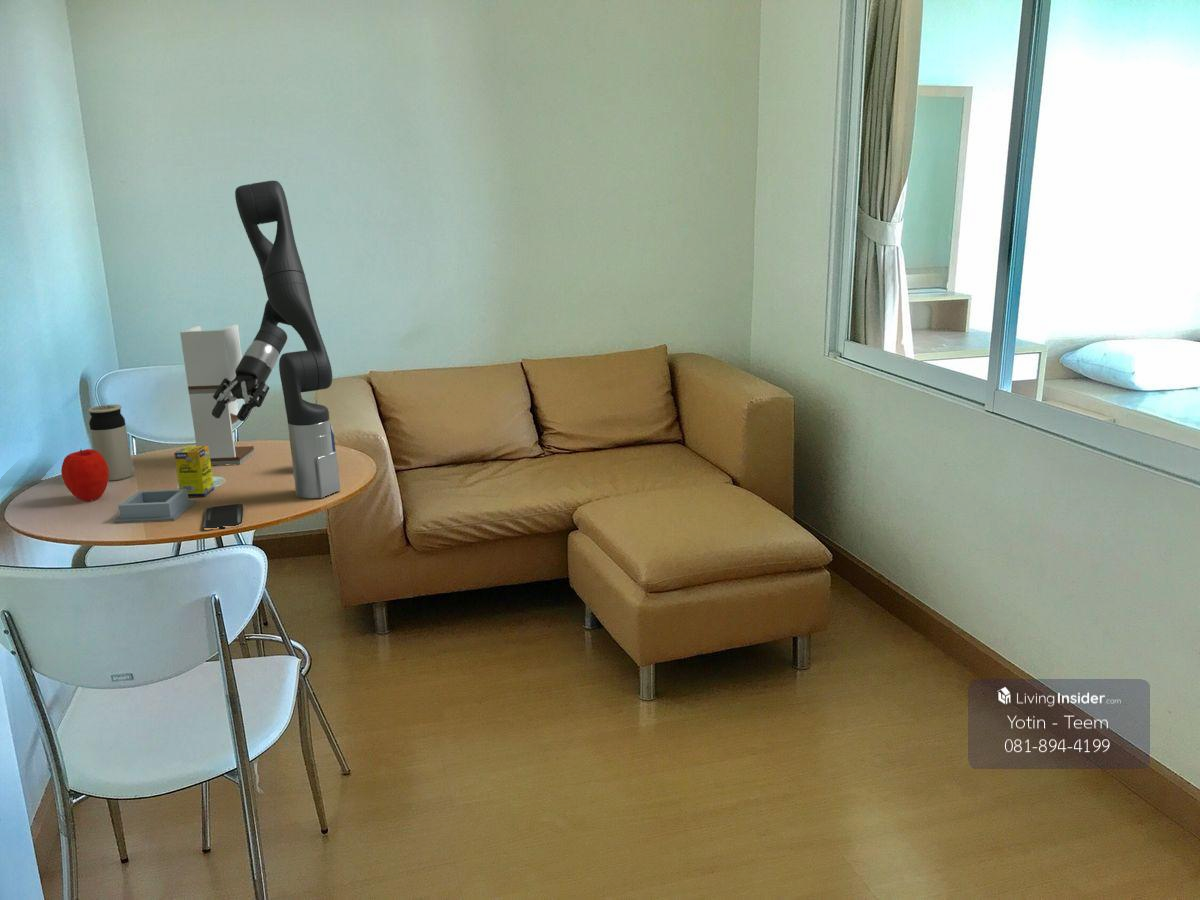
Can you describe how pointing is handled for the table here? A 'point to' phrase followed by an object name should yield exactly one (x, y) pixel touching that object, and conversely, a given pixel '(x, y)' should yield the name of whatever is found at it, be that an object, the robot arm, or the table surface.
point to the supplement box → (194, 470)
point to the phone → (223, 516)
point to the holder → (154, 506)
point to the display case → (213, 389)
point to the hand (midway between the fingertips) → (227, 418)
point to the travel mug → (111, 440)
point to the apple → (85, 474)
